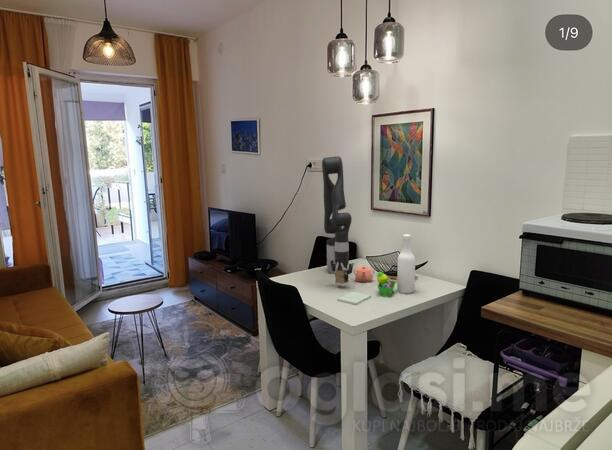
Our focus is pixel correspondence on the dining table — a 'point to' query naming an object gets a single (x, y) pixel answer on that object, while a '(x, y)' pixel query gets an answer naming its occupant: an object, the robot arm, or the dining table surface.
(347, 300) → the sage board
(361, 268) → the teapot
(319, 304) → the dining table surface
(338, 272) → the walnut block
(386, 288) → the fruit basket
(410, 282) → the alcohol
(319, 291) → the dining table surface
